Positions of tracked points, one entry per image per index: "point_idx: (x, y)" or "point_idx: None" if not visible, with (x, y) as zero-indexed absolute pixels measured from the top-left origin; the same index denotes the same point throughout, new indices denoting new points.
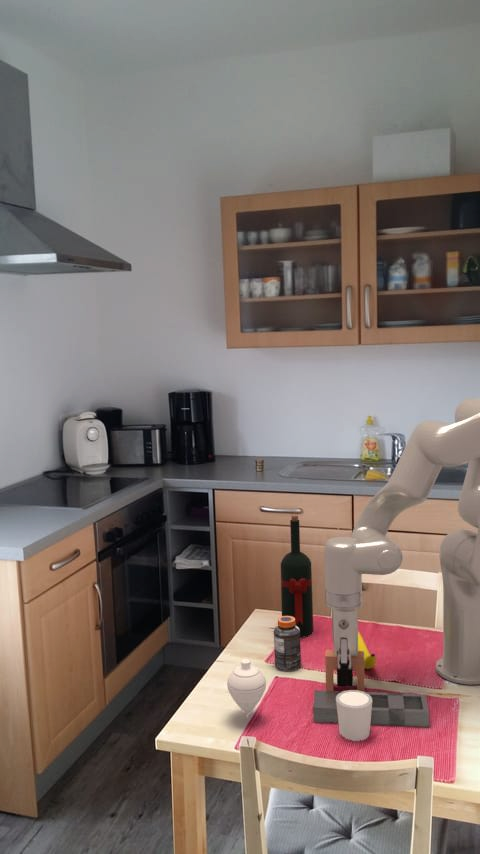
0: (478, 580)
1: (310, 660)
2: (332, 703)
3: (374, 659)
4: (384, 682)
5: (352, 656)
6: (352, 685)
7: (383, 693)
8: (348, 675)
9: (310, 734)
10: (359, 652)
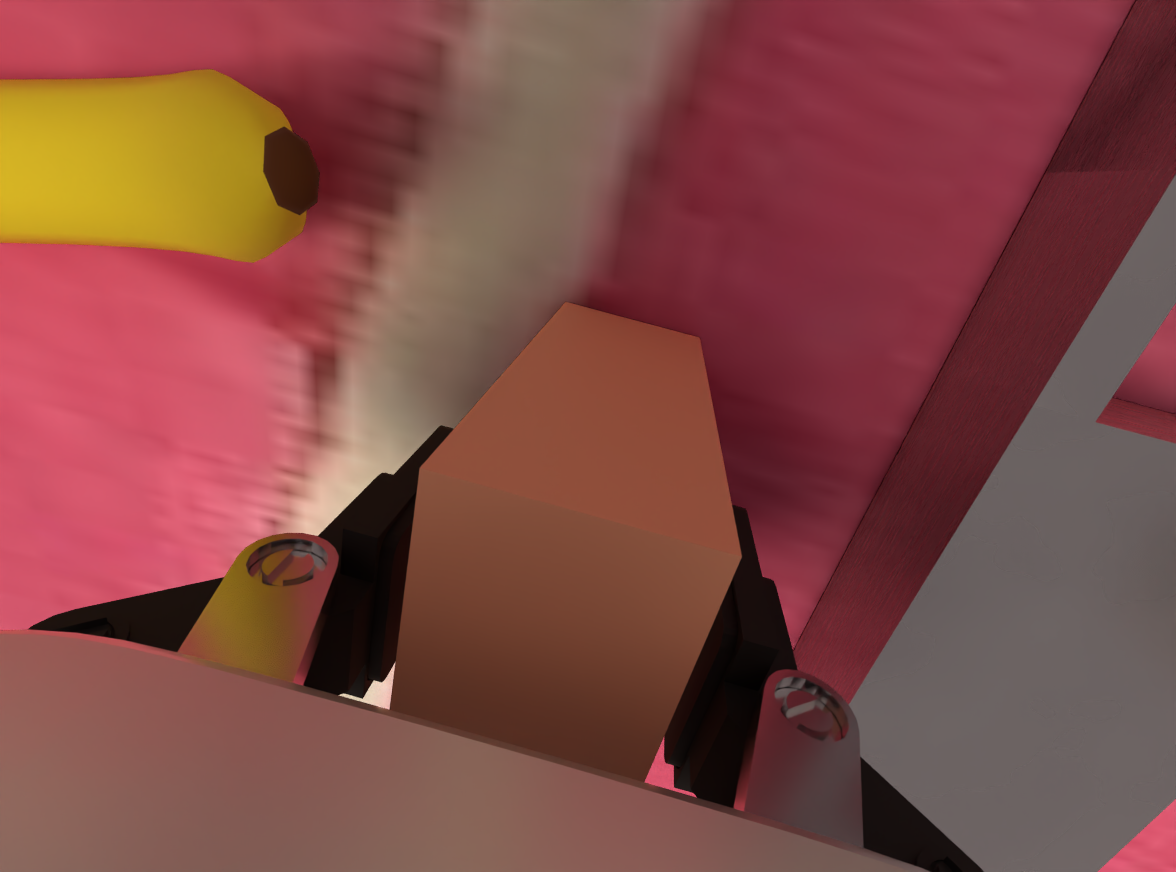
0: None
1: (119, 584)
2: (1078, 780)
3: (289, 129)
4: (493, 44)
5: (636, 723)
6: (746, 512)
7: (1169, 236)
8: (790, 645)
9: (1144, 829)
10: (479, 568)
